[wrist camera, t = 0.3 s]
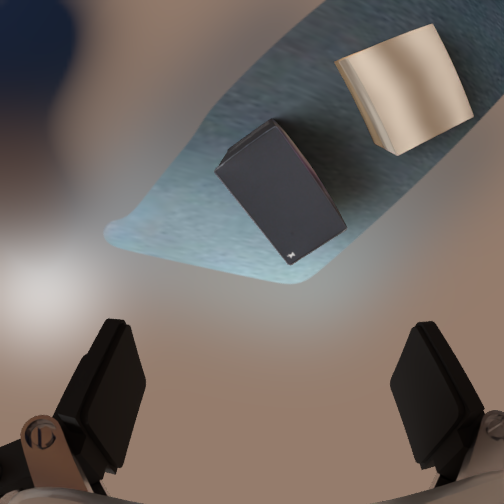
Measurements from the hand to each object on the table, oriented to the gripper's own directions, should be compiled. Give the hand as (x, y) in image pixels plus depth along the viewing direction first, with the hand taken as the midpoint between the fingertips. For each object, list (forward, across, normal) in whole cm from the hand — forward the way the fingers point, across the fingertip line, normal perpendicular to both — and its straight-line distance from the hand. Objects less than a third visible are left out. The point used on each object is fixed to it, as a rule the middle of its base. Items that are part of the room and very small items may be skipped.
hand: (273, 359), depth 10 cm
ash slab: (+24, -14, -11) cm, 29 cm away
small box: (+27, -2, 0) cm, 27 cm away
